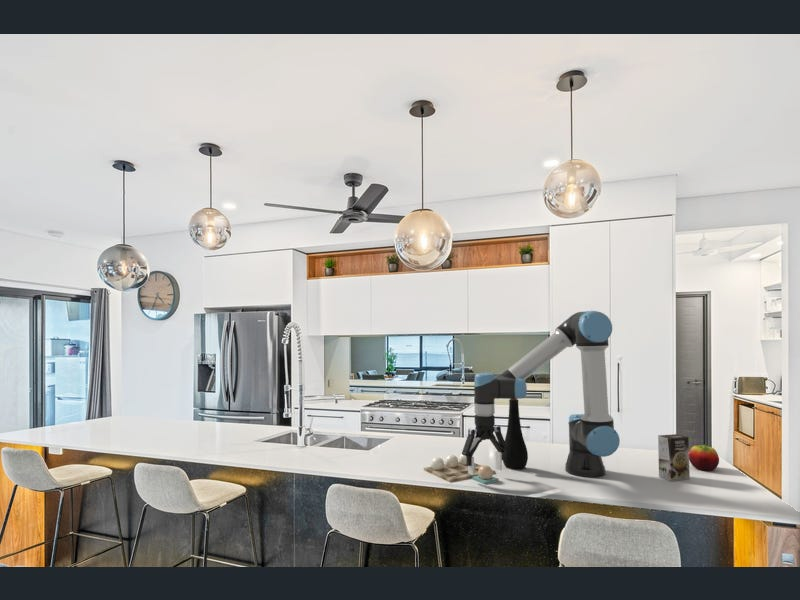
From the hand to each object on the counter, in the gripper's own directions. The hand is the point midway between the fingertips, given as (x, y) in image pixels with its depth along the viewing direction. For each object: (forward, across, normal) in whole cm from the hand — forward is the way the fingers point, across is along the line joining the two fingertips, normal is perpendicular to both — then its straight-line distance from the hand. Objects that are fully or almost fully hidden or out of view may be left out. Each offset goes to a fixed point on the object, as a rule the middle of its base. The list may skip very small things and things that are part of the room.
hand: (485, 471), depth 187 cm
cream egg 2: (+3, +2, -19) cm, 19 cm away
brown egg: (+3, 0, 0) cm, 3 cm away
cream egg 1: (+3, +9, -19) cm, 21 cm away
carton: (+4, +2, -14) cm, 15 cm away
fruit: (+4, -89, +31) cm, 94 cm away
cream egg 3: (+3, -5, -19) cm, 20 cm away
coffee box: (+4, -67, +32) cm, 74 cm away
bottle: (+4, -22, -8) cm, 24 cm away
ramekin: (+4, 0, 0) cm, 4 cm away
